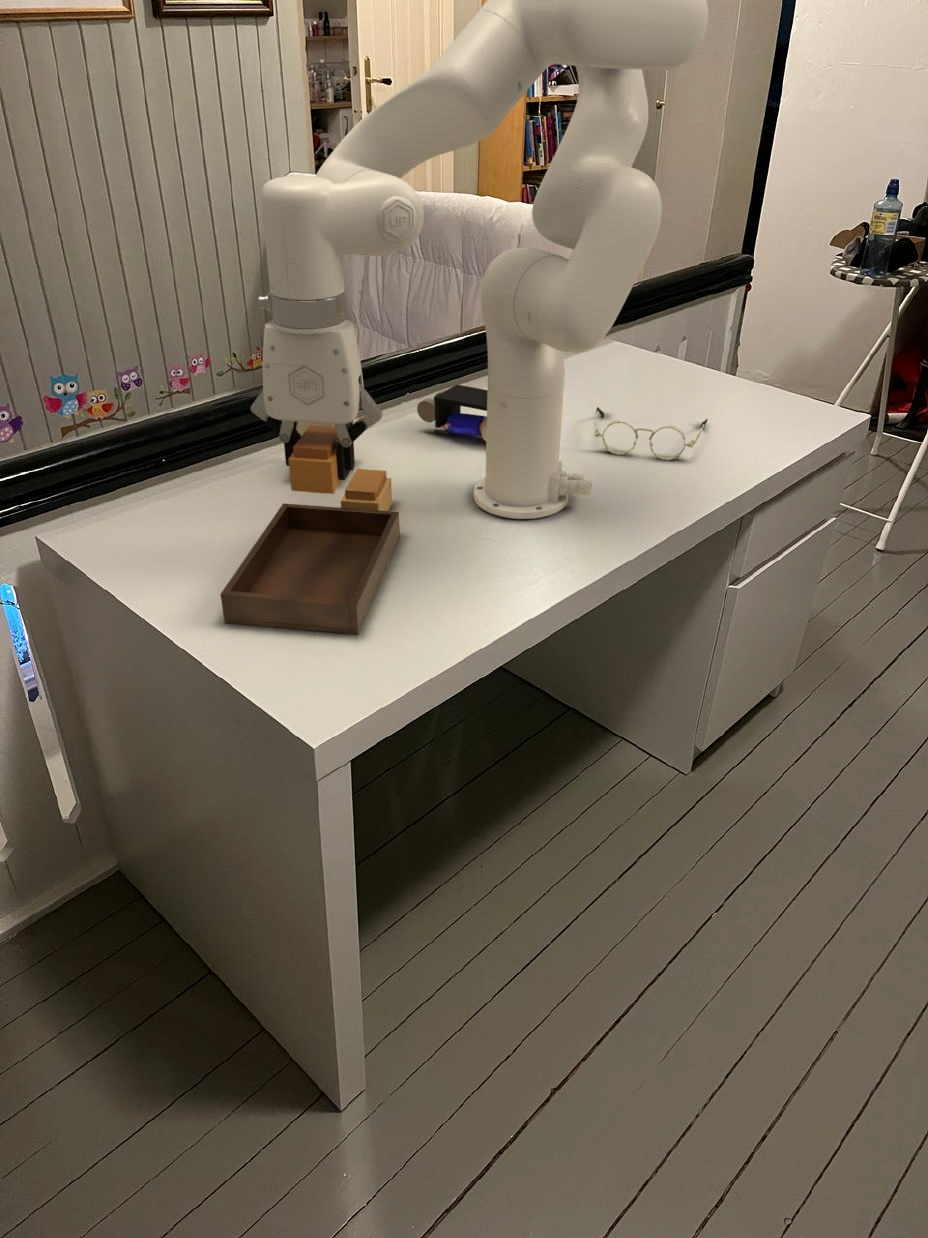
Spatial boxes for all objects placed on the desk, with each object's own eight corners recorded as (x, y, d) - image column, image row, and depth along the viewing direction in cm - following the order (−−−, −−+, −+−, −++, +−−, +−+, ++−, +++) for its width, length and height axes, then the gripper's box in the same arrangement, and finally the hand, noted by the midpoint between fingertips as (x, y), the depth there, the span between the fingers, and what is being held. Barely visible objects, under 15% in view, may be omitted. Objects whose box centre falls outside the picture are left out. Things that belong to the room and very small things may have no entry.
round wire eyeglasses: (583, 450, 140) (585, 418, 137) (599, 414, 152) (601, 384, 149) (700, 464, 136) (705, 431, 133) (706, 425, 148) (711, 395, 145)
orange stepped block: (350, 466, 110) (347, 425, 107) (333, 494, 104) (330, 451, 101) (310, 463, 110) (307, 423, 108) (291, 490, 104) (287, 448, 101)
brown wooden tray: (399, 537, 117) (399, 511, 115) (358, 634, 99) (356, 605, 97) (285, 528, 118) (283, 503, 116) (224, 622, 100) (220, 594, 98)
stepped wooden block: (392, 504, 124) (390, 469, 122) (379, 530, 118) (377, 494, 115) (356, 501, 125) (354, 466, 122) (342, 527, 119) (339, 491, 116)
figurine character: (417, 442, 145) (500, 454, 138) (411, 394, 142) (496, 403, 134) (442, 428, 150) (523, 439, 142) (437, 381, 146) (520, 389, 138)
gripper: (216, 315, 95) (237, 481, 104) (381, 324, 93) (387, 493, 103) (241, 296, 101) (259, 455, 111) (397, 304, 99) (401, 465, 109)
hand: (321, 472), depth 106 cm, fingers closed on orange stepped block, 4 cm apart
